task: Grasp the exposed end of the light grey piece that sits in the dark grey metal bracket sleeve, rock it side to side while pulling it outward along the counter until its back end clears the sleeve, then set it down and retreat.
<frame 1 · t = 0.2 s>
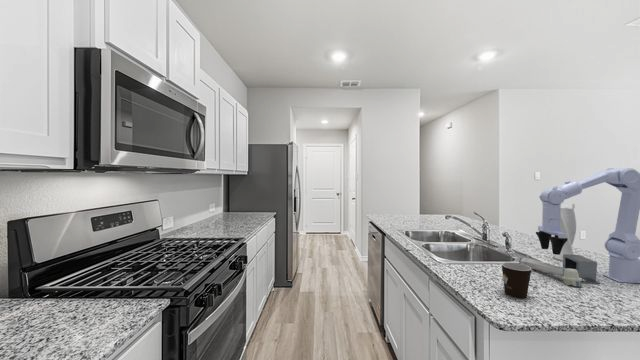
hand: (550, 251, 118), 10 cm above the worktop, tool pointing down, fingers open, 7 cm apart
coffee mug: (515, 293, 101), on the worktop
bracket sleeve: (577, 276, 117), on the worktop
light grey piece: (548, 276, 119), on the worktop
skyscraper: (565, 260, 138), on the worktop
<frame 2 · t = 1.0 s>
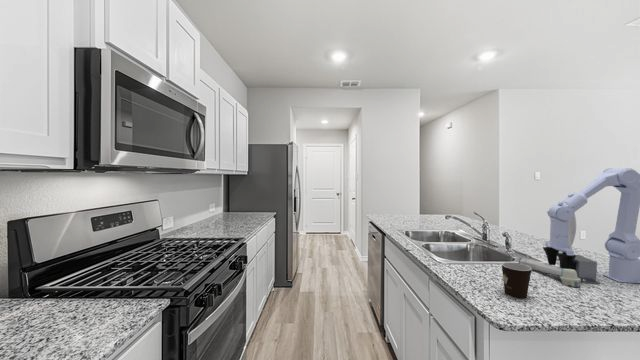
hand: (557, 267, 118), 3 cm above the worktop, tool pointing down, fingers open, 7 cm apart
light grey piece: (547, 276, 119), on the worktop, touching gripper
everything else where it was.
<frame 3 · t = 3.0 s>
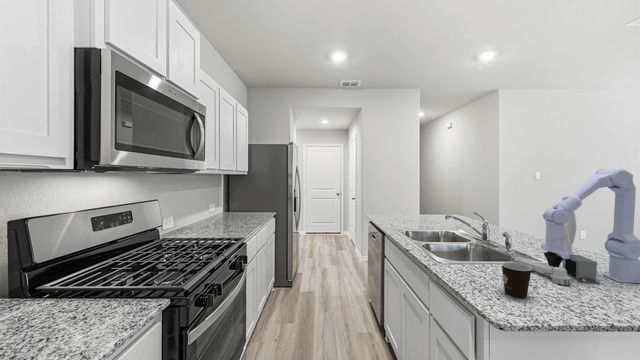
hand: (553, 270, 118), 2 cm above the worktop, tool pointing down, fingers closed
light grey piece: (539, 275, 120), on the worktop, touching gripper
everything else where it was.
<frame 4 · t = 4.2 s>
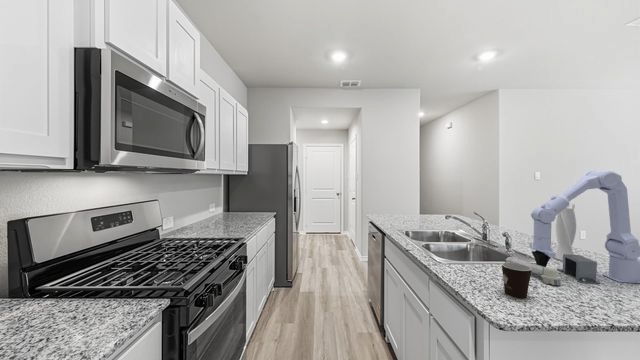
hand: (541, 269, 119), 2 cm above the worktop, tool pointing down, fingers closed
light grey piece: (530, 275, 120), on the worktop, touching gripper
everything else where it was.
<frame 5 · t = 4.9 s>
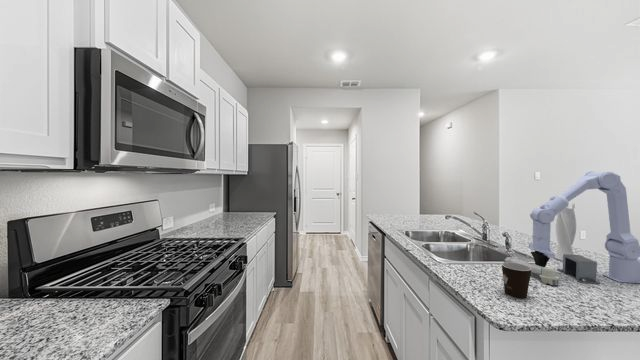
hand: (540, 270, 119), 2 cm above the worktop, tool pointing down, fingers closed
light grey piece: (529, 275, 120), on the worktop
everything else where it was.
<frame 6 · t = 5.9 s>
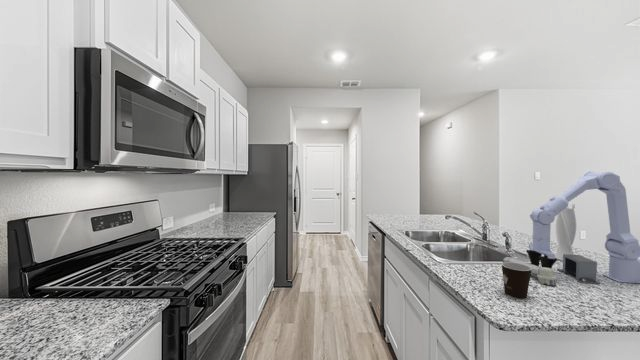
hand: (540, 270, 119), 2 cm above the worktop, tool pointing down, fingers open, 7 cm apart
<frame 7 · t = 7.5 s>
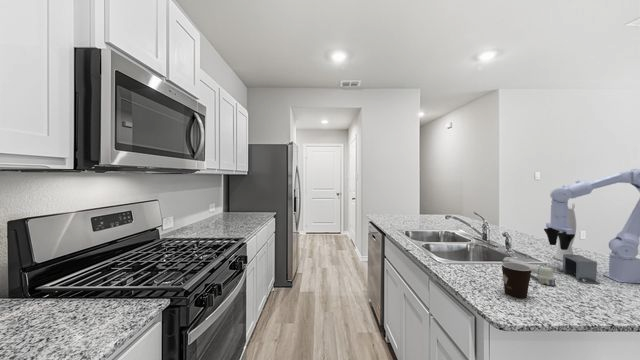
hand: (558, 247, 125), 10 cm above the worktop, tool pointing down, fingers open, 7 cm apart
nothing on the worktop moved.
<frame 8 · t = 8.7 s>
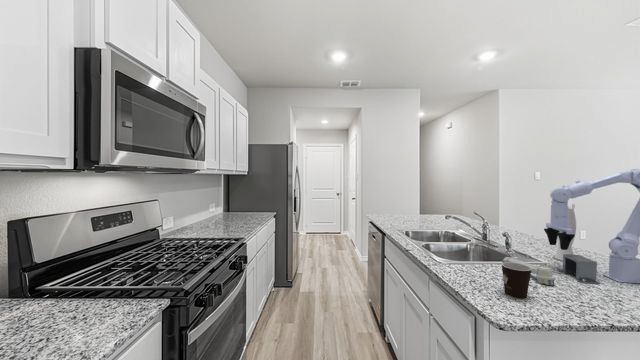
hand: (558, 247, 125), 10 cm above the worktop, tool pointing down, fingers open, 7 cm apart
at the end: light grey piece inside the target area (2.0 cm from its centre), on the worktop; light grey piece moved 8.1 cm from its start; the gripper is holding nothing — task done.
